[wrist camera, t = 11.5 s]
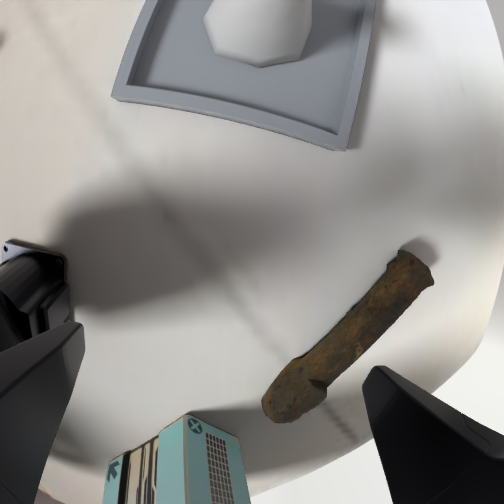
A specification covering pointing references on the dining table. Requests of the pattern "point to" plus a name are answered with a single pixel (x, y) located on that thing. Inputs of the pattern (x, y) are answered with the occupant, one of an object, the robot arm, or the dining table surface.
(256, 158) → the dining table surface
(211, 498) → the light blue box
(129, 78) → the parts tray
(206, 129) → the dining table surface
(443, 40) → the dining table surface
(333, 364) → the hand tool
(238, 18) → the flask
